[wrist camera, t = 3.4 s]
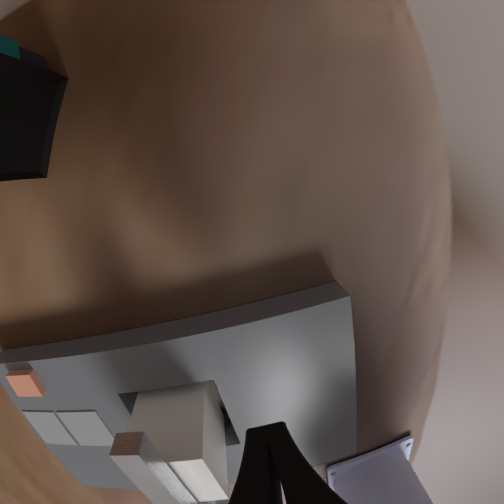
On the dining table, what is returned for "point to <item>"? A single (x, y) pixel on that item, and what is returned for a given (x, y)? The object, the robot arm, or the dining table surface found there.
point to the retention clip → (150, 470)
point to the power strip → (198, 379)
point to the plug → (186, 435)
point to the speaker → (26, 112)
